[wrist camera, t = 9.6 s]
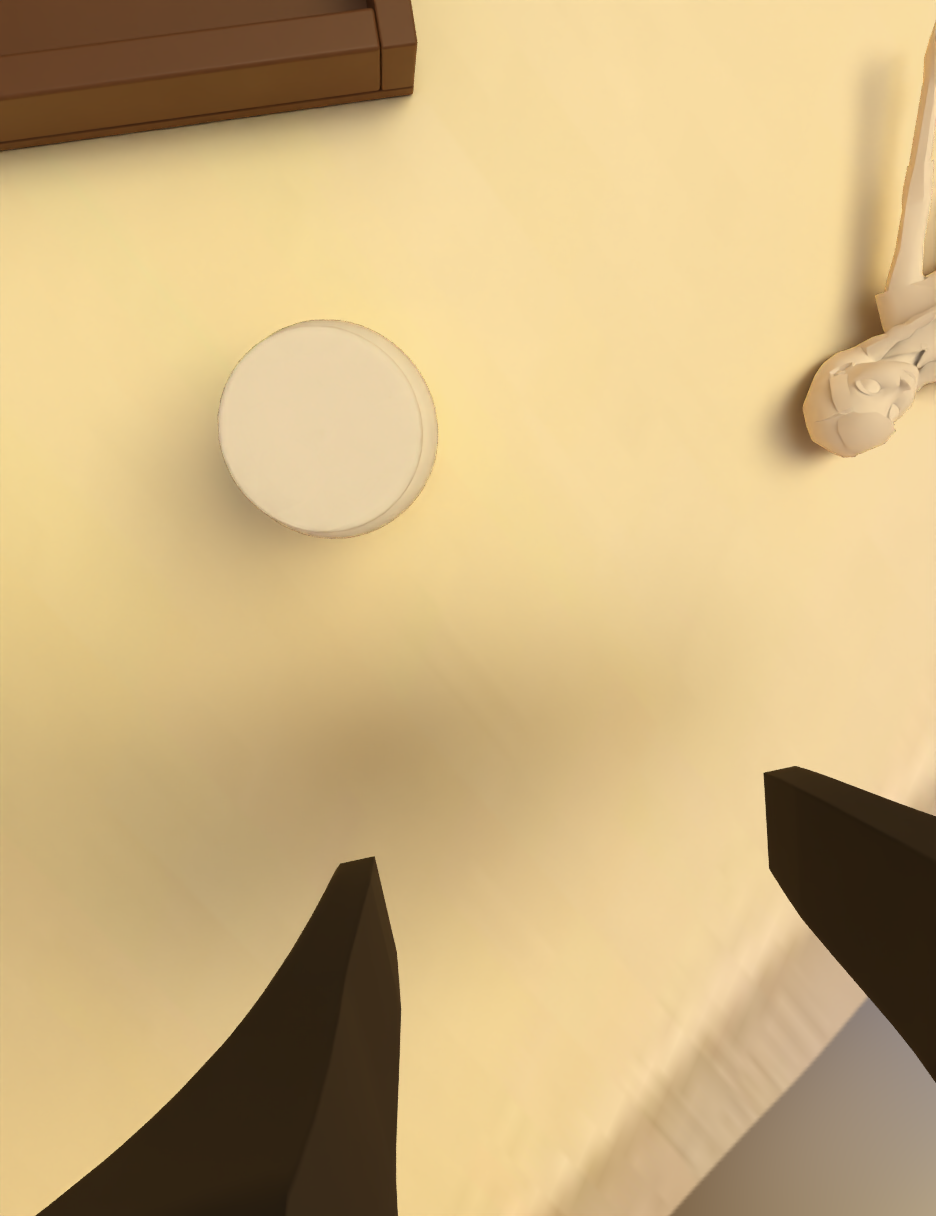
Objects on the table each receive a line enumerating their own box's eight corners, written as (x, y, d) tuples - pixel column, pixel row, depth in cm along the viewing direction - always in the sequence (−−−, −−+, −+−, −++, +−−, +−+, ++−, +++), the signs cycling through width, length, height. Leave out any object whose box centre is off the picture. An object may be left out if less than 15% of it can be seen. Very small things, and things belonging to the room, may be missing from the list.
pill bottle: (234, 381, 19) (135, 350, 11) (389, 322, 19) (393, 251, 11) (302, 535, 20) (255, 599, 12) (447, 478, 20) (487, 508, 12)
